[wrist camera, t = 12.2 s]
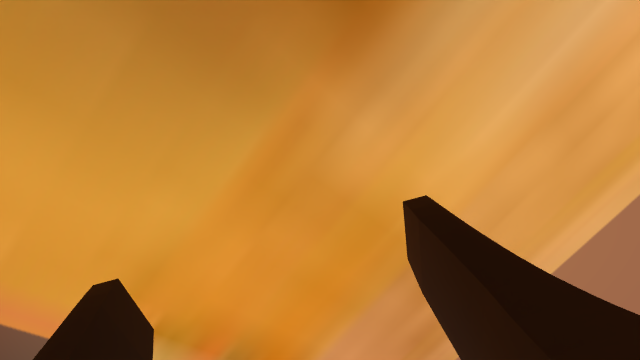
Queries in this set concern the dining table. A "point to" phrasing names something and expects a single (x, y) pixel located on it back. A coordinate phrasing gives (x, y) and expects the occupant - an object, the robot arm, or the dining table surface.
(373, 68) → the dining table surface
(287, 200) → the dining table surface
